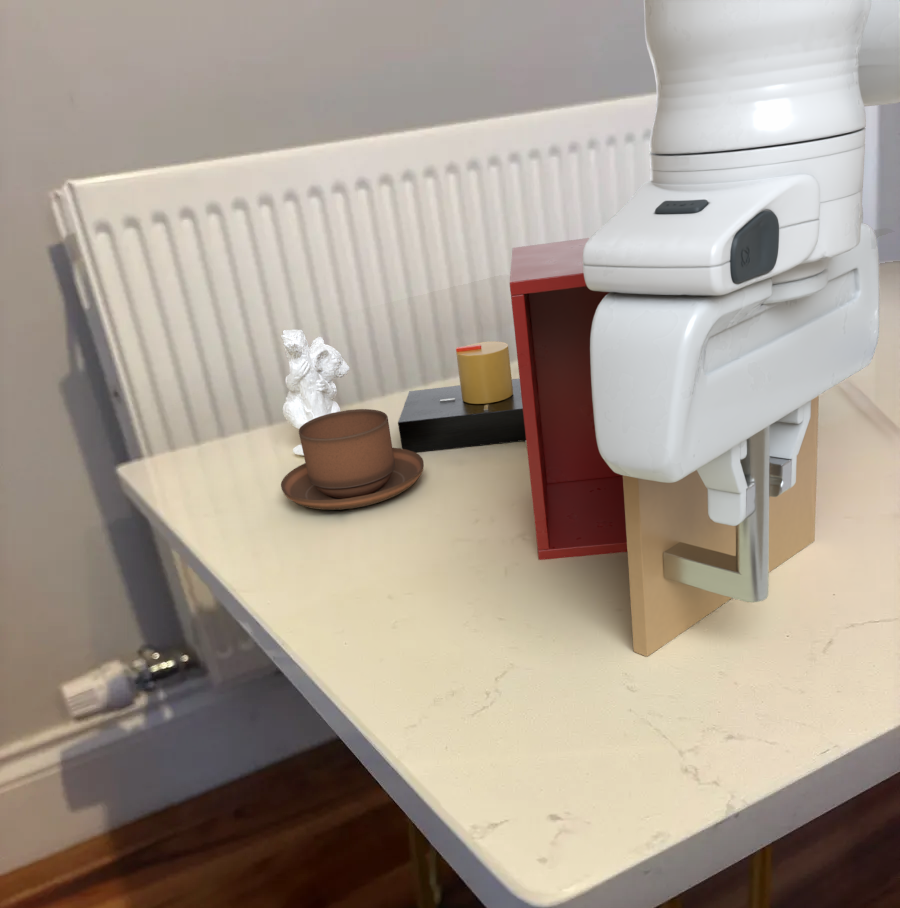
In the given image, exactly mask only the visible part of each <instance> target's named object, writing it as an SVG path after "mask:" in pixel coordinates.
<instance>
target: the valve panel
mask: <svg viewBox="0 0 900 908" xmlns="http://www.w3.org/2000/svg"><path fill="white" fill-rule="evenodd" d="M512 386H513V395H512V396H510V397H509V398H507V399H504V400H501V401H498V402H493V403H486V404H471V403H466V402H464V401H463V400H462V393H461V386H460V384H459V385H453V386H452V385H451V386H443V387H433V388H425V389H416V390H409V391H408V393H407V396H406V399H405V402H404V405H403V408H402V411H401V413H400V416H399V419H398V421H397V424H398V432H399V438H400V445H401V449H406V450H410V451H413V452H415V453H422V452H432V451H442V450H450V449H462V448H469V447H471V448H472V447H478V446H480V447H481V446H489V445H498V444H507V443H516V442H526V435H525V425H524V416H523V406H522V397H521V387H520V378H512Z"/></svg>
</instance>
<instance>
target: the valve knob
mask: <svg viewBox="0 0 900 908" xmlns="http://www.w3.org/2000/svg"><path fill="white" fill-rule="evenodd" d="M509 350H510V349H509V344H508V343H507V342H503V341H498V340H497V341H494V340H493V341H490V340H489V341H480V342H475V343H471V344H467V345H464V346H457V347H456V348H455V355H456V361H457V369H458V377H459V385H460V386H461V393H462V400H463V401H464V402H466V403H471V404H486V403H493V402H498V401H501V400H504V399H507V398H509V397H510V396H512V395H513V386H512V379H513V378H512V377H513V376H512V367H511V360H510V358H511V357H510V351H509Z"/></svg>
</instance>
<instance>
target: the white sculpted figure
mask: <svg viewBox="0 0 900 908" xmlns="http://www.w3.org/2000/svg"><path fill="white" fill-rule="evenodd" d="M281 333H282V334H281V335H280V339H281V341H282V345H283V348H284V350H285V352H284V353H285V356H286V359H287V361H288V365H289V372H288V374H287V375H286V376H285V386H286V388H287V390H288V391H287V396H285V402H284V403H283V405H282V415H283V416H284V418H285V419H286V421H287V422H288V424H289V425H291V426H292V427H293V428H295V429H297V430H299V429H300V427H301V426H302V425H303V424H305V423H306V422H308V421H310V420H312V419H315V418H317V417H320V416H323V415H327V414H330V413H335V412H340V411H341V408H340V405H339V404H338V402H337V401H335V400H333V399H335V398H336V396H337V393H338V389H337V386H336V384H335V382H334V379H341V378H343V377H345V375H348V372H349V371H350V366H349V365H348V363H347V362H346V360H344V357H343V356H342V354H341V353H340V351H338V350H337V349H336V348H335V347H333V346H331V345H329V344H327V343H326V344H325V340H324V339H323V337H321V336H317V337H316V338H314V339H313V340H312V341H311V344H310V346H309V341H308V339H307V338H306V335H305V333H304V331H303V329H283V330H282V332H281ZM292 453H293V454H295V455H297V456H303V457H304V454H303V449H302V445H301V443H300V444H297V445H296V446H294V447H293V448H292Z"/></svg>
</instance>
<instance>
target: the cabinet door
mask: <svg viewBox="0 0 900 908" xmlns="http://www.w3.org/2000/svg"><path fill="white" fill-rule="evenodd" d="M819 403H820V395H819V396H817V397H815V398H814V399H812V400H811V418H810V420H809V423H808V426H807V429H806V432H805V435H804V438H803V441H802V444H801V447H800V450H799V453H798V455H797V462H796V483H795V484H794V486H793V487H791V488H790V489H788V490H787V491H785V492H784V493H782V494H780V495H779V496H777V497H771V496H769V467H770V425H769V426H768V427H766V428H764V429H763V430H761V431H760V432H758V433H756V434H755V435H753V436H751V437H750V438H748V439H747V455H746V457H745V458H744V459H742V460H740V463H741V466H742V469H743V473H744V476H745V479H746V482H753V483H756V497H755V503H756V510H755V512H754V513H753V514H752V515H751V516H750V517H748V518H747V519H745V520H744V521H743V522H741V523H740V524H738V525H737V526H731V525H726V524H721V523H716V522H714V521H712V520H711V519H710V517H709V515H708V493H707V488H706V487H705V485H704V483H703V481H702V479H701V477H700V475H699V473H698V472H697V470H695V471H694V472H692V473H690V474H689V475H687V476H686V477H684V478H683V479H681V480H679V481H677V482H673V483H665V482H657V481H651V480H644V479H639V478H634V477H629V476H624V475H623V487H624V503H625V519H626V536H627V552H626V553H627V566H628V567H627V568H628V581H629V583H628V585H629V597H630V598H629V600H630V601H629V602H630V613H631V614H630V615H631V630H632V647H633V652H634V653H635V654H639V655H641V656H645V657H649V656H651V655H653V654H654V653H655V652H656V651H658V650H660V649H661V648H663V647H664V646H665V645H666V644H668V643H670V642H671V641H673V640H674V639H675V638H678V637H679V636H680V635H681V634H683V633H684V632H685V631H687V630H689V629H690V628H691V627H693V626H694V625H696V624H697V623H698V622H700V621H701V620H703V619H704V618H706V617H707V616H709V615H710V614H711V613H713V612H715V611H716V610H717V609H718V608H721V606H723V605H725V604H726V603H727V602H729V601H730V600H732V599H734V600H738V601H741V602H744V603H760V602H764V601H765V600H766V599H768V597H769V591H770V589H769V587H770V586H769V585H770V583H769V582H770V579H769V577H770V575H769V574H770V572H772V571H773V570H775V569H776V568H777V567H779V566H781V565H782V564H783V563H785V562H786V561H788V560H789V559H790V558H792V557H794V556H795V555H797V554H798V553H799V552H800V551H802V550H804V549H805V548H807V547H808V546H809V545H811V544H812V543H814V542H815V539H816V510H817V509H816V506H817V505H816V504H817V477H818V475H817V470H818V443H819V441H818V439H819V408H820V407H819Z"/></svg>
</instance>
